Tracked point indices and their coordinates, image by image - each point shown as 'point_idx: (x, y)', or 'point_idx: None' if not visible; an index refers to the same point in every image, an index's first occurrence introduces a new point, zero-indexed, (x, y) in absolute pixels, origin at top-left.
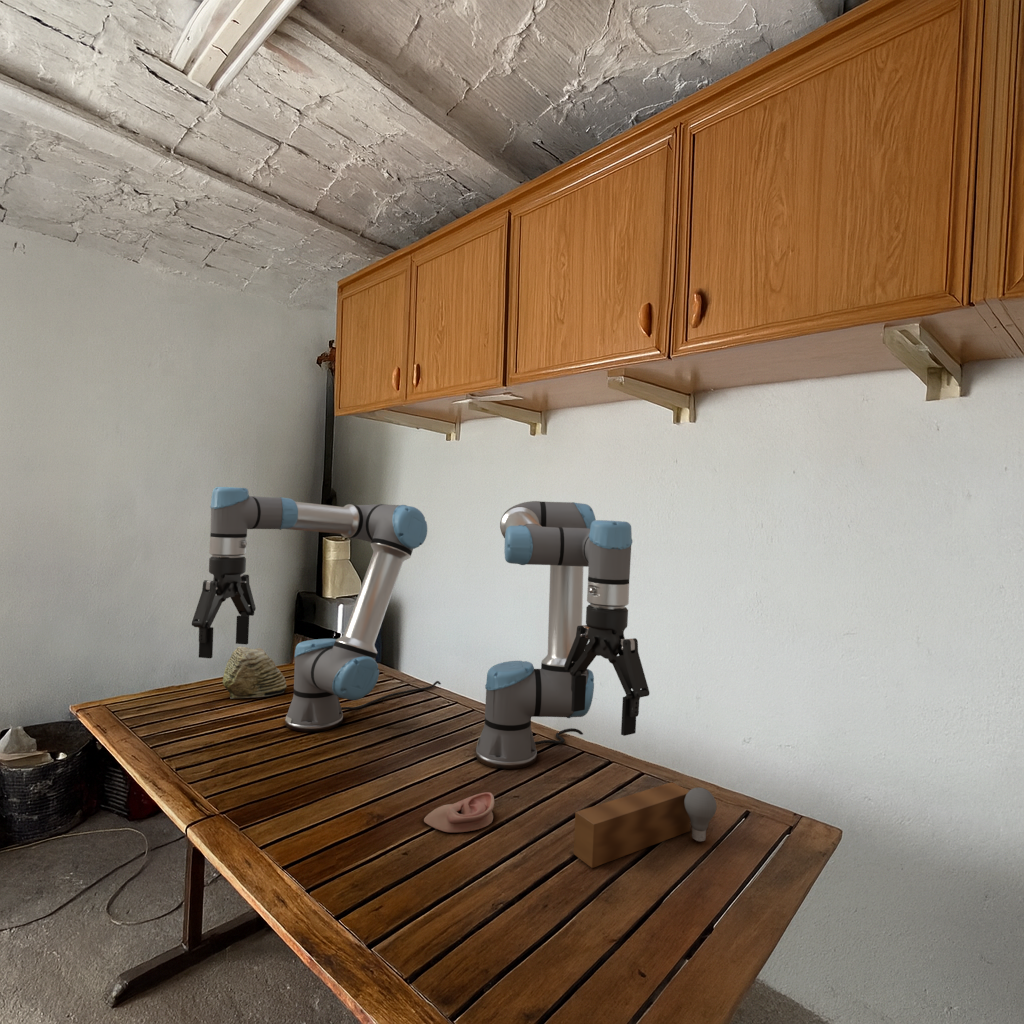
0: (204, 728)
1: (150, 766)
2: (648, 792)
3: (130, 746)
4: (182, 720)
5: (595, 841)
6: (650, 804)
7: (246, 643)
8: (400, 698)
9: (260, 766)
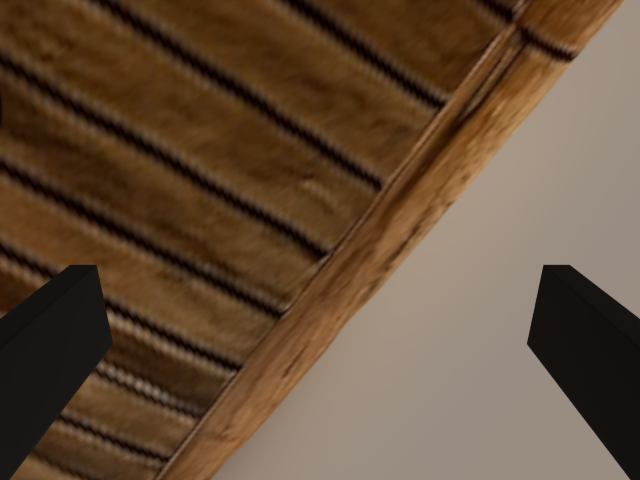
0: None
1: (323, 313)
2: None
3: (247, 405)
4: (84, 404)
5: None
6: None
7: (91, 268)
8: None
9: (252, 74)
